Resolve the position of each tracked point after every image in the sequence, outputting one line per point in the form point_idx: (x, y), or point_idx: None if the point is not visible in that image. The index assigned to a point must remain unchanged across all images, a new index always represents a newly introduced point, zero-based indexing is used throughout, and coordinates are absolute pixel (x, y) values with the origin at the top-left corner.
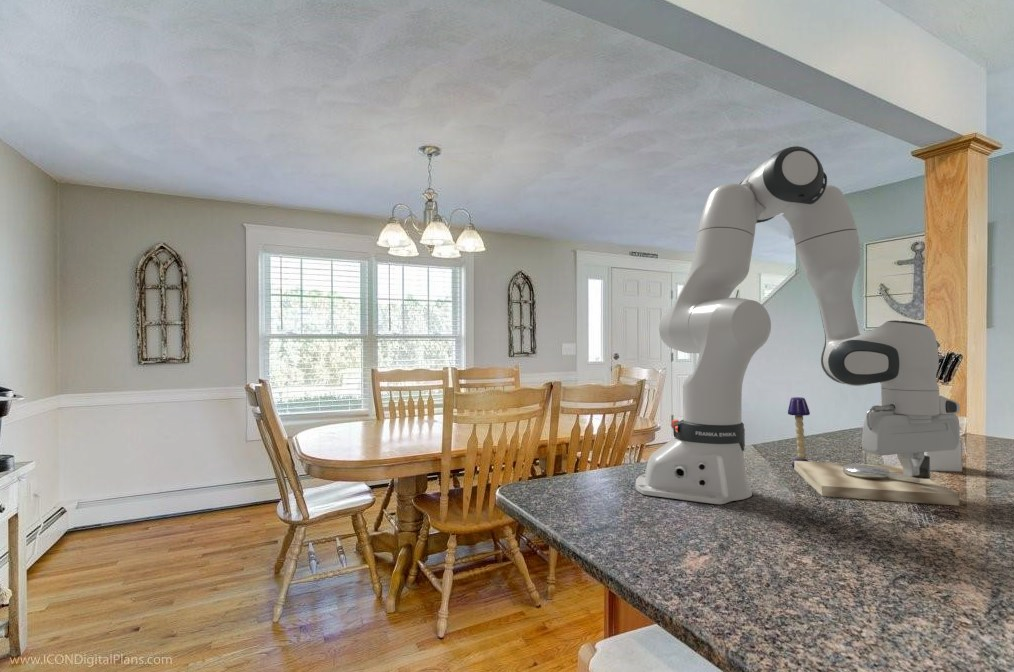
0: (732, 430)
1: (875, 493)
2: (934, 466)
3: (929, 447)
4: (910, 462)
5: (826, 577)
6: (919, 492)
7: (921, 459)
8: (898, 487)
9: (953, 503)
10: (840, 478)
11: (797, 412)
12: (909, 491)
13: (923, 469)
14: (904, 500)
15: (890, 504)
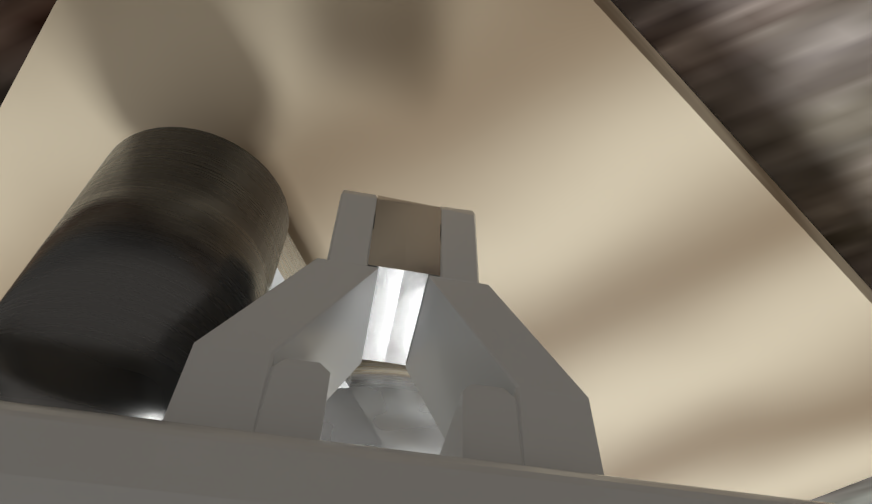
0: None
1: (803, 223)
2: None
3: (54, 501)
4: (522, 341)
5: None
6: (596, 2)
7: (276, 331)
8: (569, 191)
9: None
10: (640, 461)
11: None
12: (655, 71)
13: (215, 225)
14: (660, 58)
15: (853, 70)
